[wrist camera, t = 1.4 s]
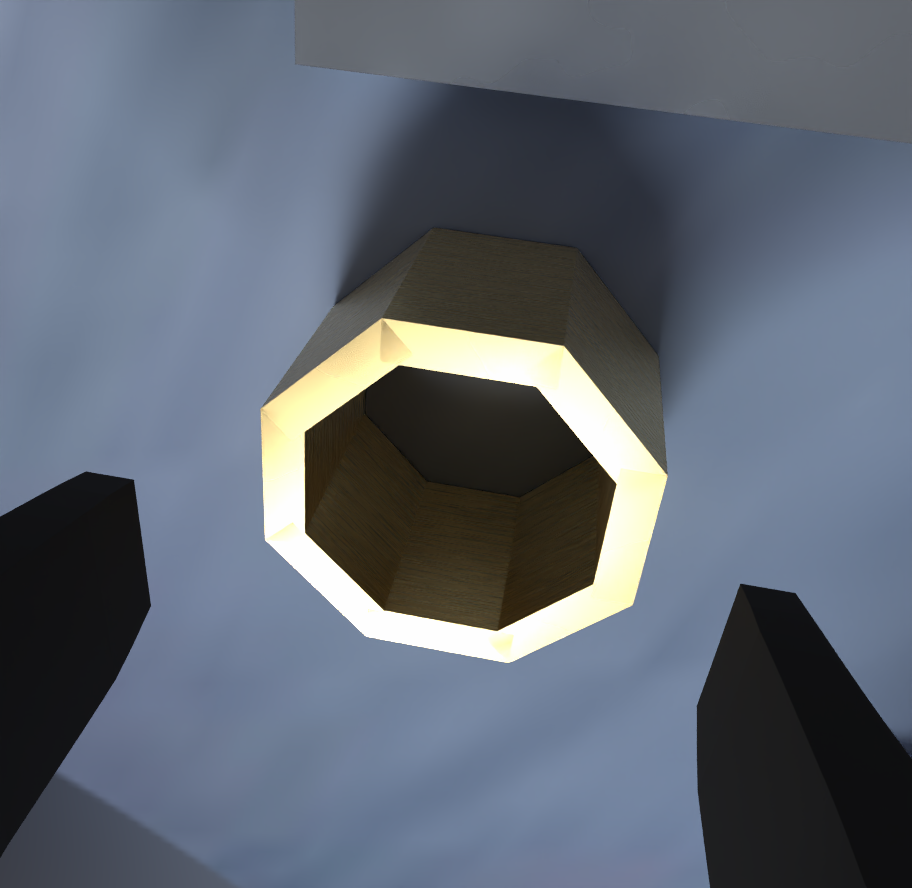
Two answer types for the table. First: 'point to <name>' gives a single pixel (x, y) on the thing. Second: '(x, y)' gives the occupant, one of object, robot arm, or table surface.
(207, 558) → the table surface
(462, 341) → the collar
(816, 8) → the shaft block
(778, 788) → the robot arm
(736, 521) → the table surface
